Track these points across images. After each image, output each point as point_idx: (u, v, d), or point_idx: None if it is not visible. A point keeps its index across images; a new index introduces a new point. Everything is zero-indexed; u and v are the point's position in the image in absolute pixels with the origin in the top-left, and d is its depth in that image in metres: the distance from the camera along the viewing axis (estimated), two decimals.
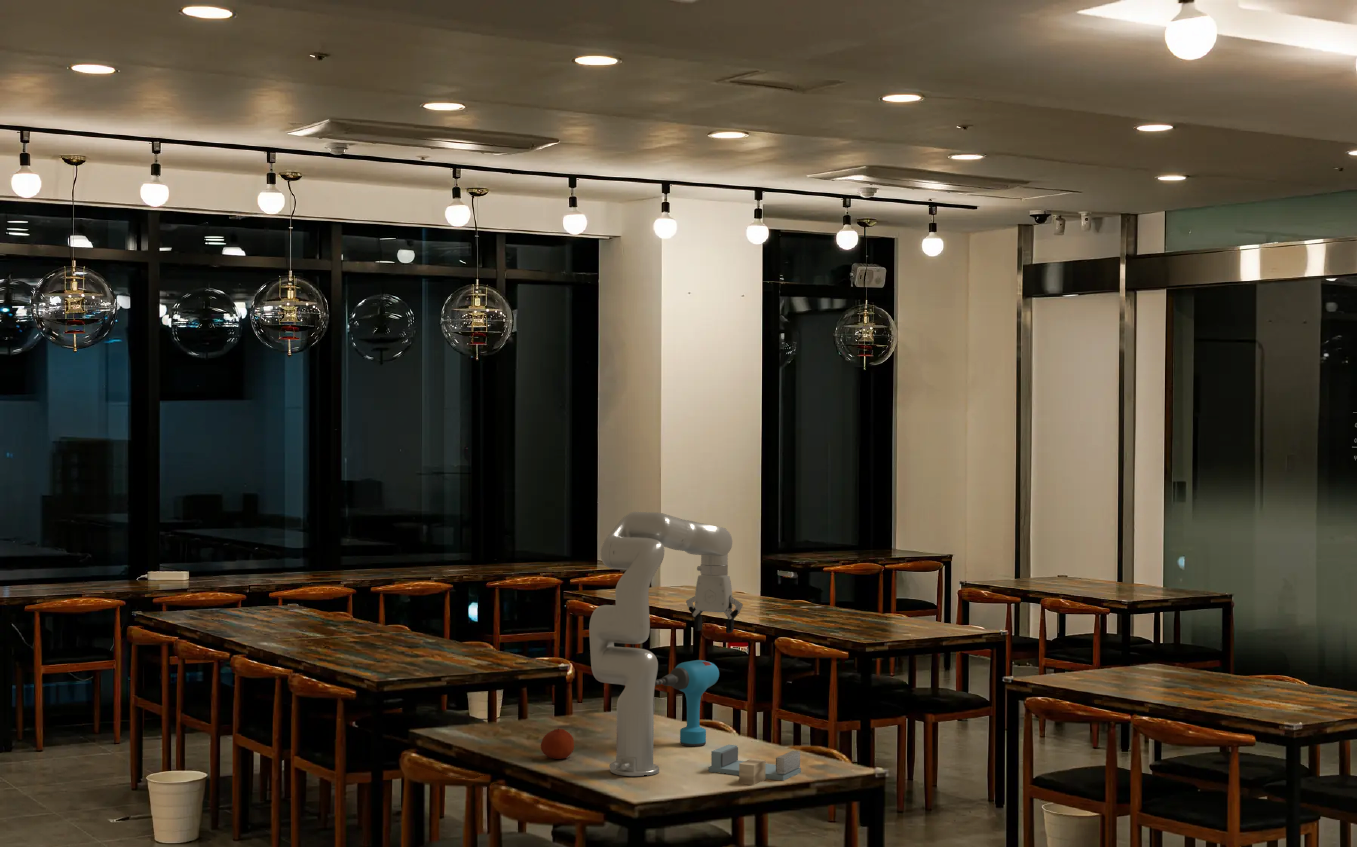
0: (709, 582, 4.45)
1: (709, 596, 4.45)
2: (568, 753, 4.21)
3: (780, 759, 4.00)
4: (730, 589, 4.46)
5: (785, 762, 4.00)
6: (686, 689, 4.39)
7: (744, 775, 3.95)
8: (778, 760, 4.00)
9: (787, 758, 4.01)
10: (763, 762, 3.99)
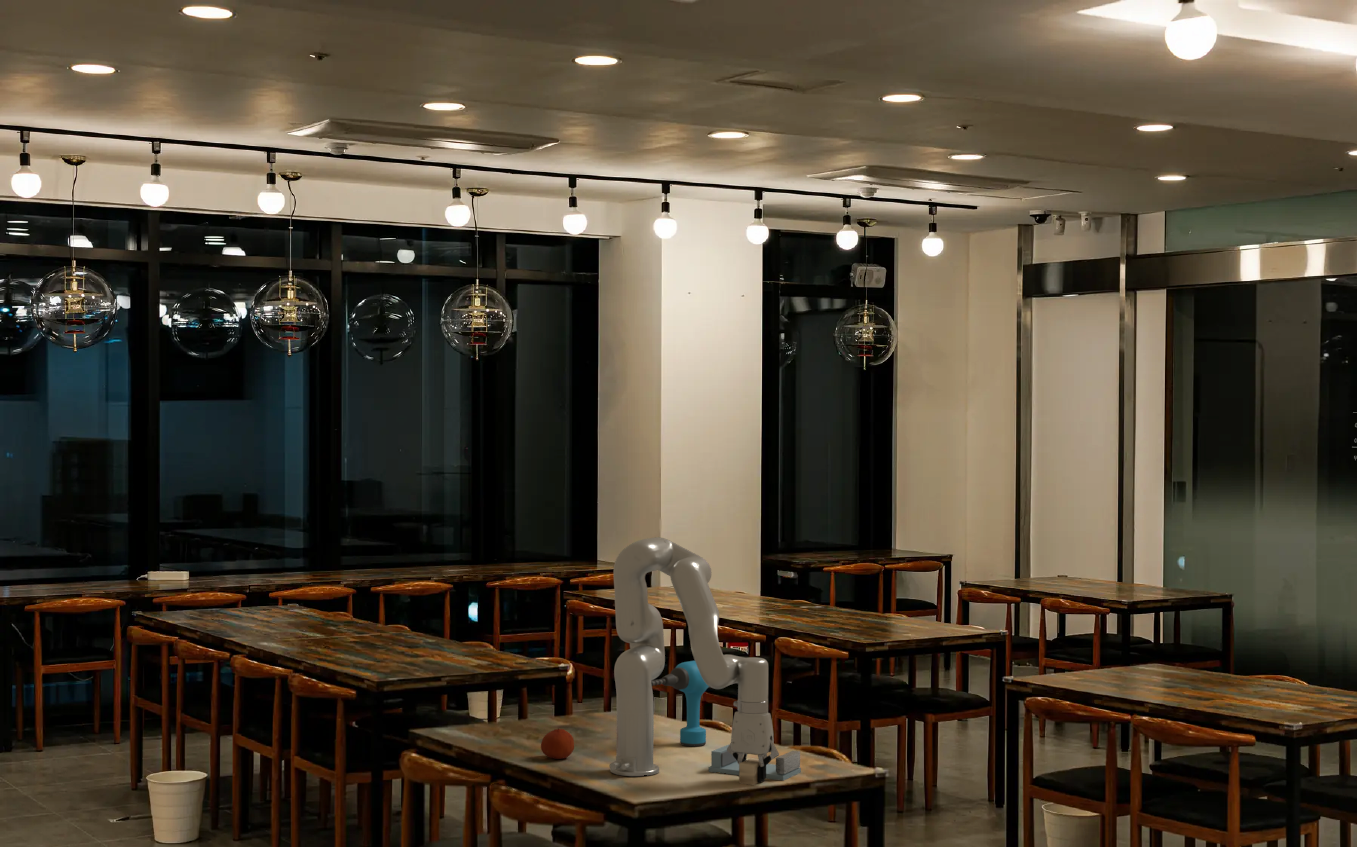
0: (748, 721, 3.96)
1: (747, 737, 3.96)
2: (568, 753, 4.21)
3: (780, 759, 4.00)
4: (771, 728, 3.96)
5: (785, 762, 4.00)
6: (686, 689, 4.39)
7: (744, 775, 3.95)
8: (778, 760, 4.00)
9: (787, 758, 4.01)
10: None
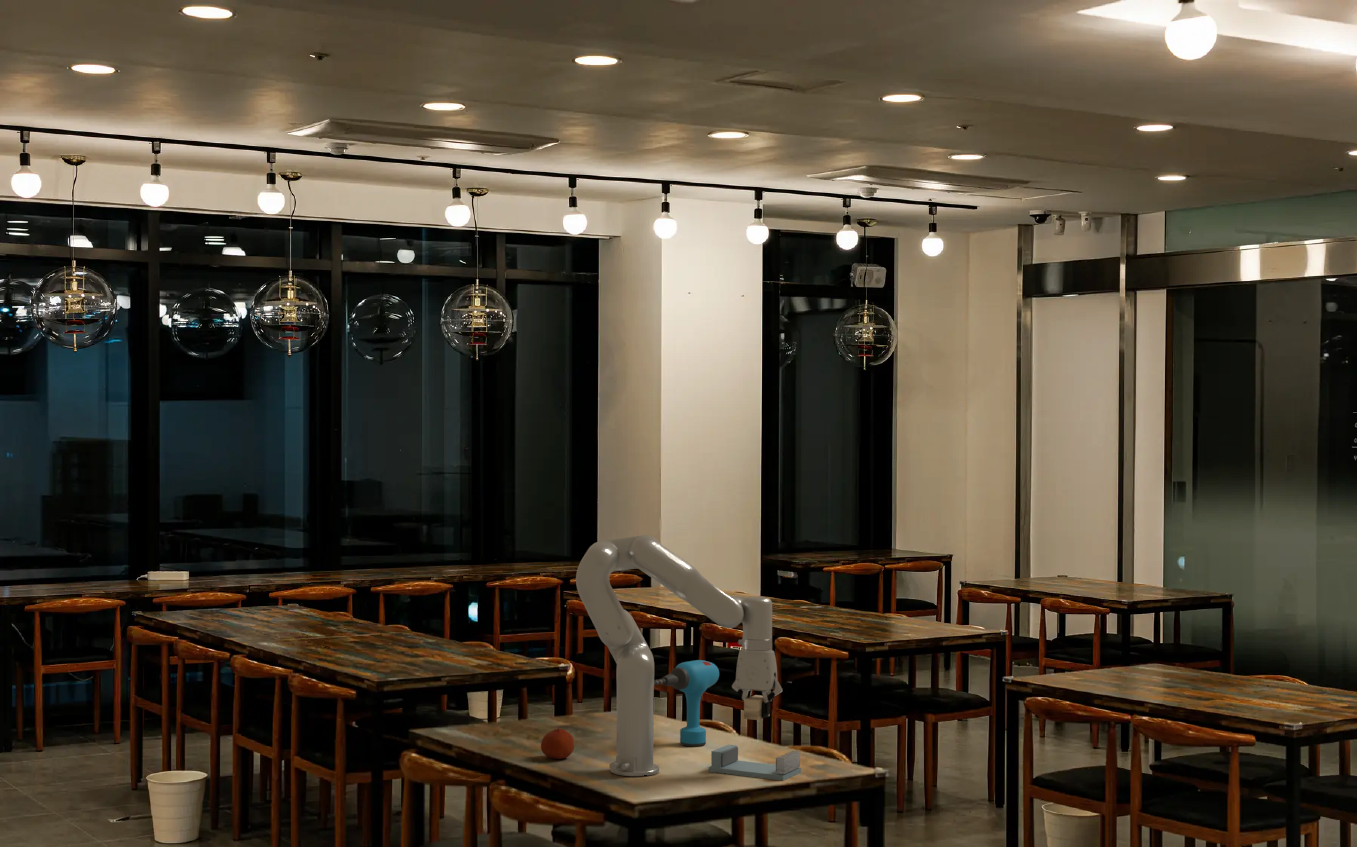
0: (752, 658, 4.06)
1: (751, 673, 4.06)
2: (568, 753, 4.21)
3: (780, 759, 4.00)
4: (775, 665, 4.07)
5: (785, 762, 4.00)
6: (686, 689, 4.39)
7: (749, 710, 4.06)
8: (778, 760, 4.00)
9: (787, 758, 4.01)
10: None
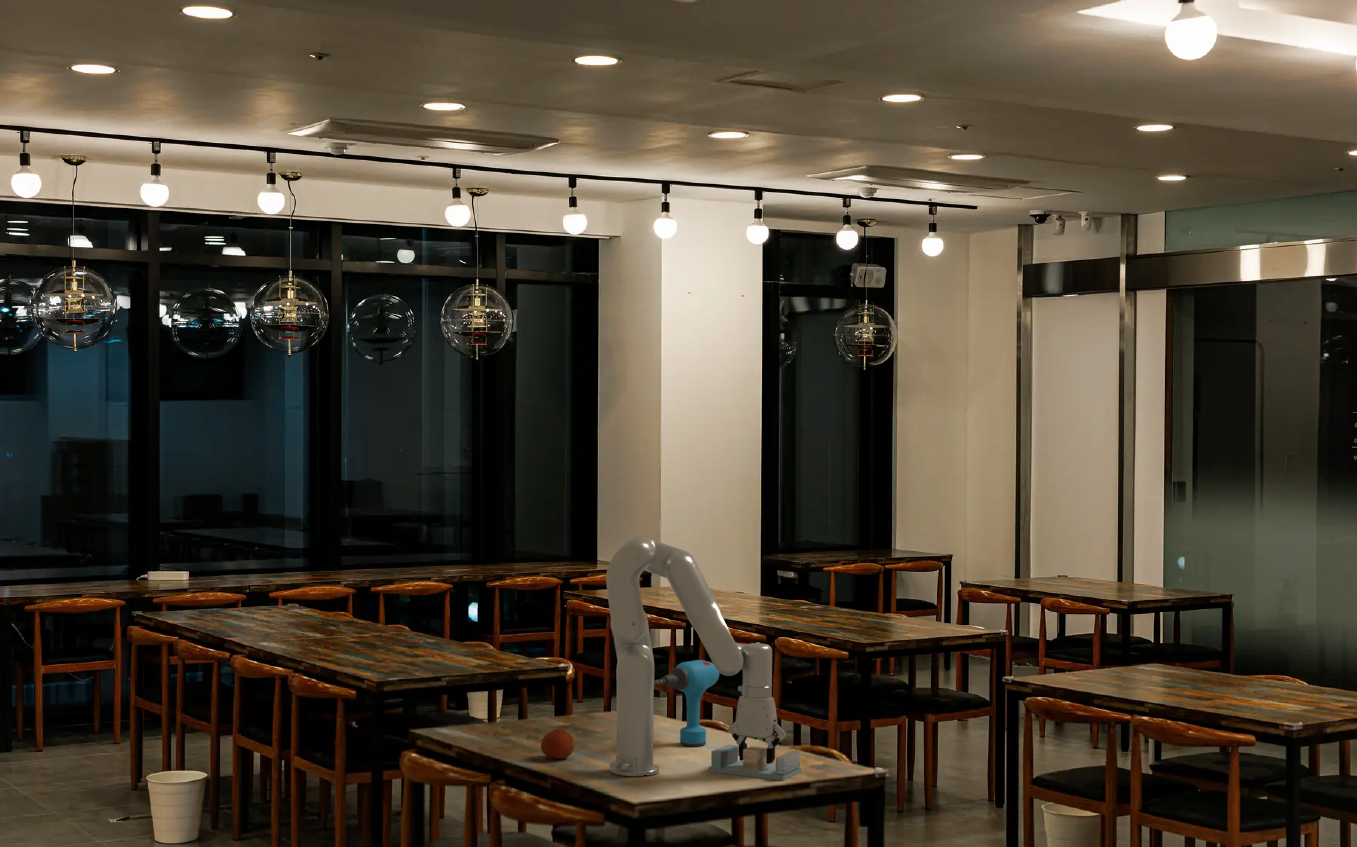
0: (752, 705, 4.06)
1: (751, 720, 4.06)
2: (568, 753, 4.21)
3: (780, 759, 4.00)
4: (774, 712, 4.07)
5: (785, 762, 4.00)
6: (686, 689, 4.39)
7: (748, 761, 4.06)
8: (778, 760, 4.00)
9: (787, 758, 4.01)
10: (766, 748, 4.10)
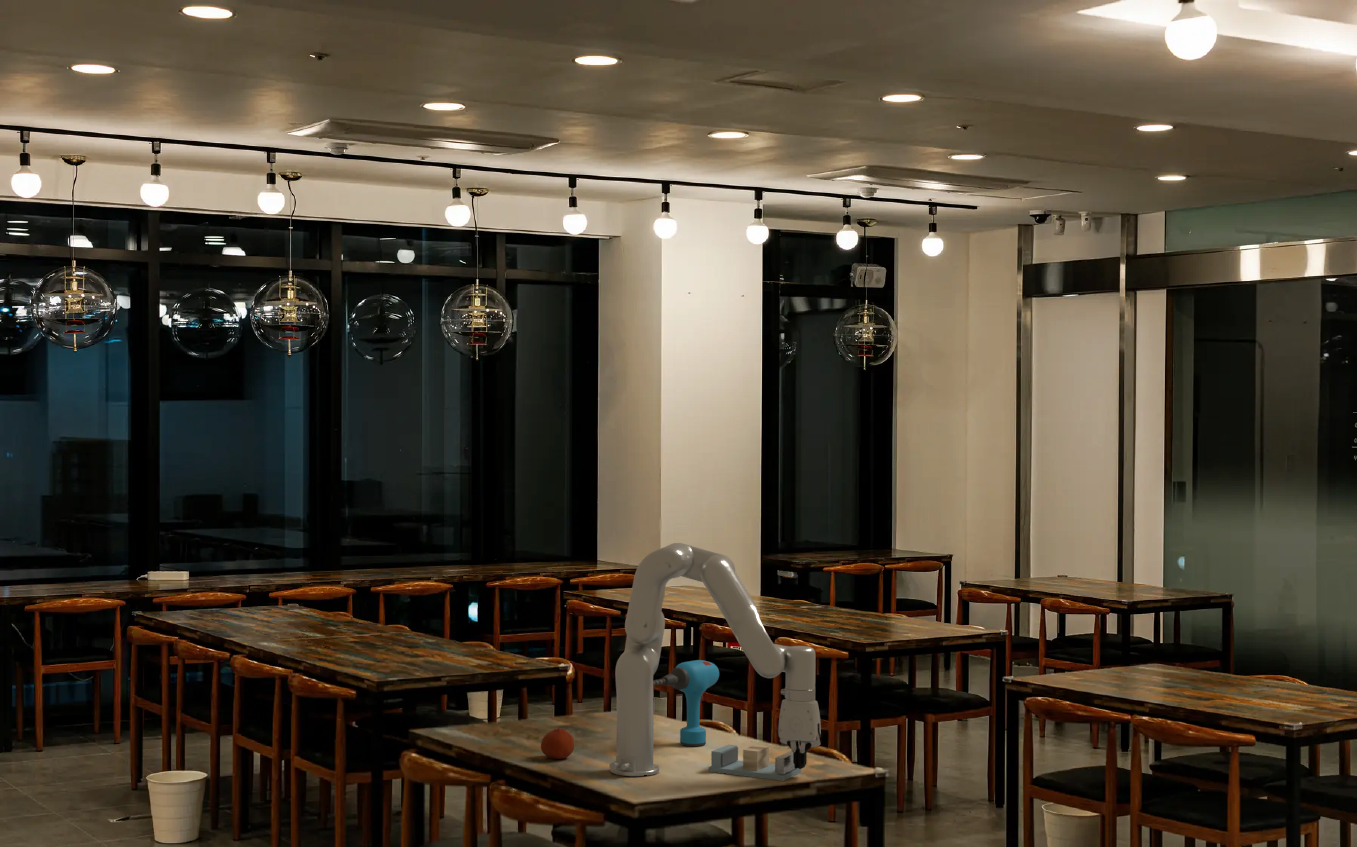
0: (795, 709, 4.01)
1: (795, 724, 4.01)
2: (568, 753, 4.21)
3: (779, 759, 4.00)
4: (818, 716, 4.01)
5: (785, 762, 4.00)
6: (686, 689, 4.39)
7: (748, 761, 4.06)
8: (777, 760, 4.00)
9: (786, 758, 4.01)
10: (766, 748, 4.10)
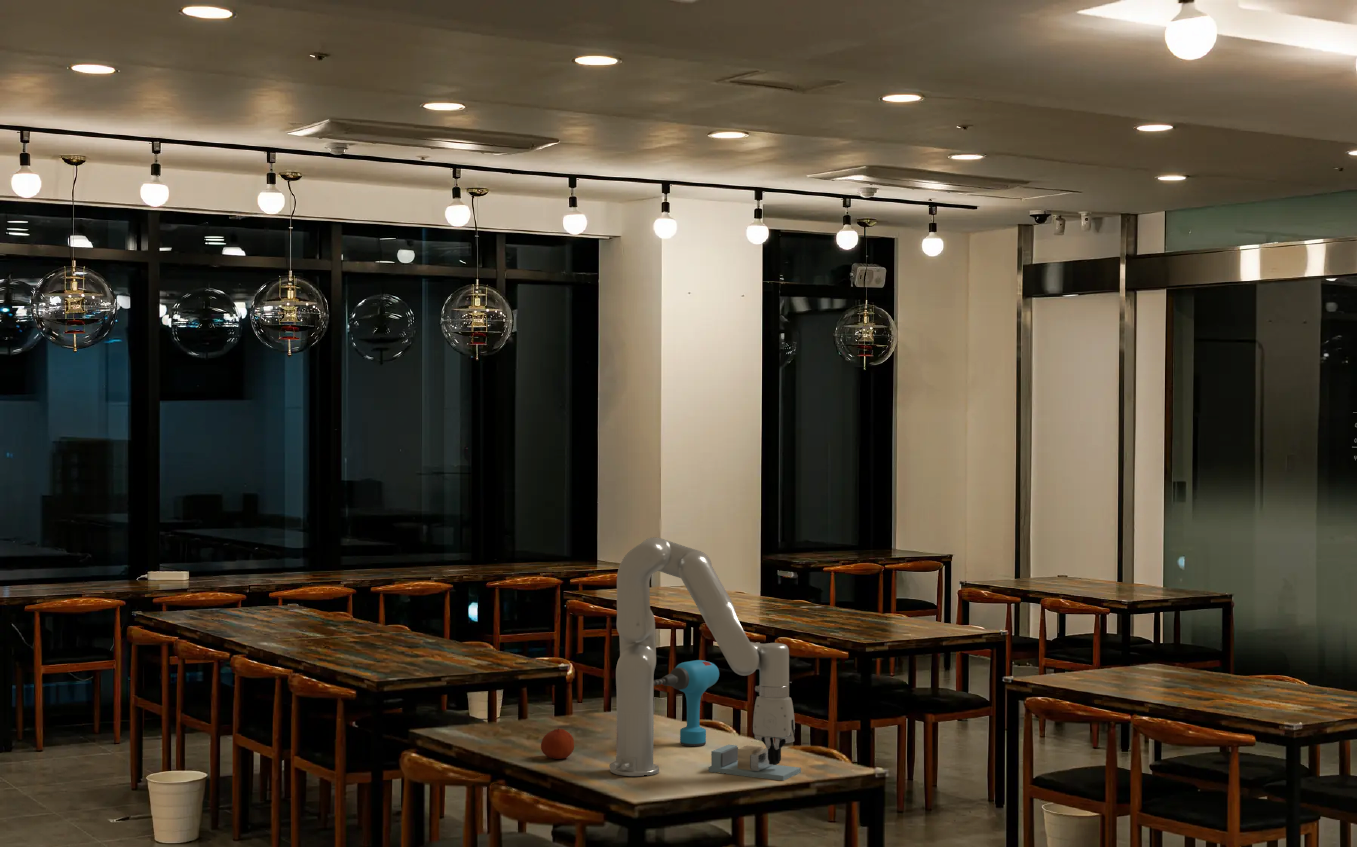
0: (769, 705, 4.04)
1: (769, 721, 4.04)
2: (568, 753, 4.21)
3: (754, 756, 4.03)
4: (792, 712, 4.05)
5: (759, 759, 4.04)
6: (686, 689, 4.39)
7: (742, 760, 4.07)
8: (752, 757, 4.04)
9: (761, 755, 4.05)
10: (761, 748, 4.10)
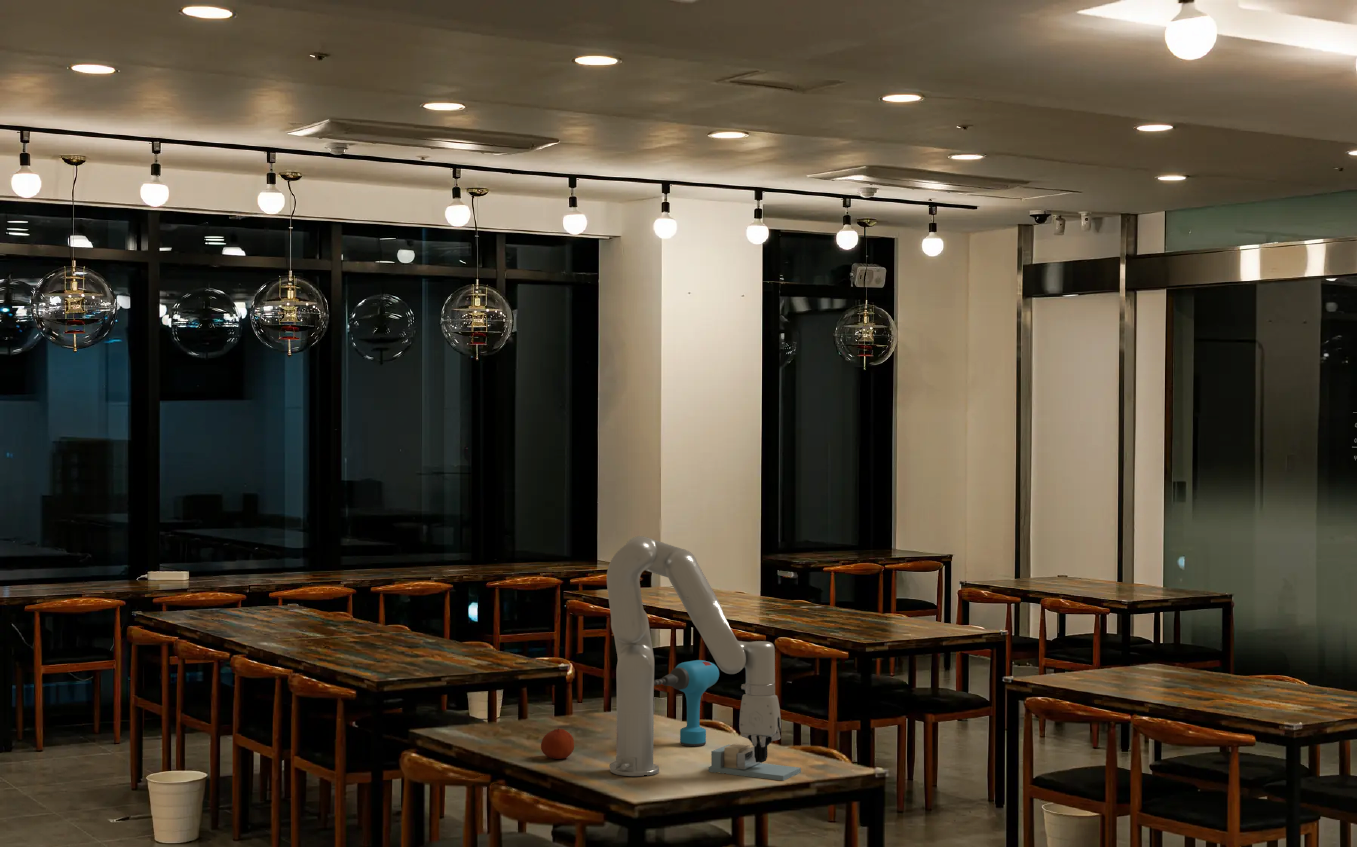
0: (755, 703, 4.06)
1: (755, 718, 4.06)
2: (568, 753, 4.21)
3: (741, 755, 4.05)
4: (778, 710, 4.06)
5: (746, 757, 4.05)
6: (686, 689, 4.39)
7: (729, 759, 4.08)
8: (739, 755, 4.05)
9: (748, 754, 4.06)
10: (747, 746, 4.12)
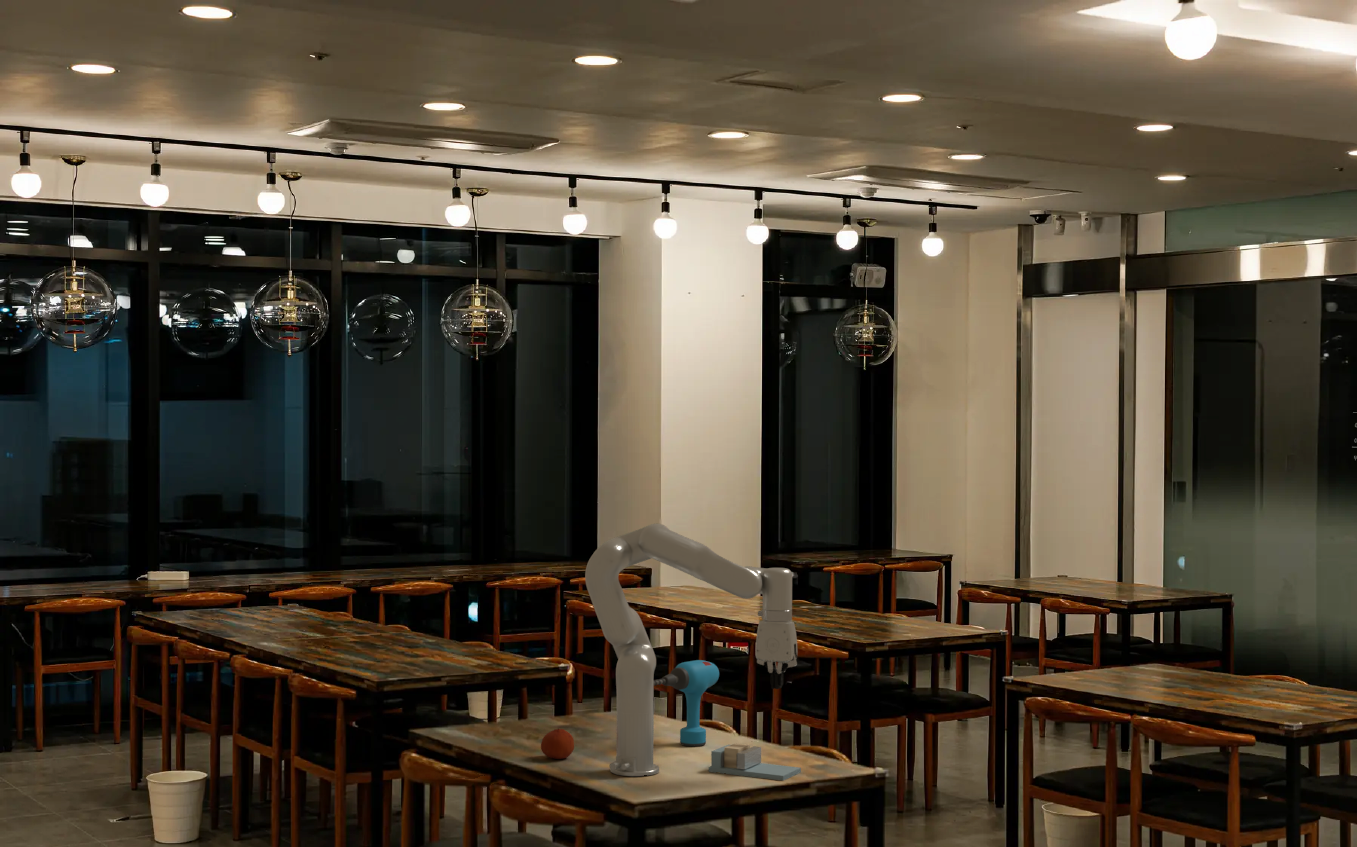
0: (772, 629, 4.04)
1: (771, 645, 4.04)
2: (568, 753, 4.21)
3: (741, 755, 4.05)
4: (795, 637, 4.04)
5: (746, 757, 4.05)
6: (686, 689, 4.39)
7: (729, 759, 4.08)
8: (739, 755, 4.05)
9: (748, 754, 4.06)
10: (747, 746, 4.12)
